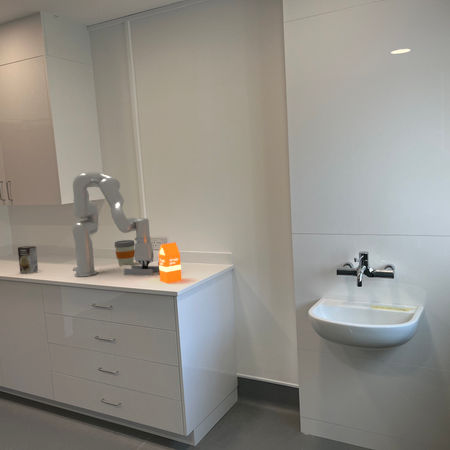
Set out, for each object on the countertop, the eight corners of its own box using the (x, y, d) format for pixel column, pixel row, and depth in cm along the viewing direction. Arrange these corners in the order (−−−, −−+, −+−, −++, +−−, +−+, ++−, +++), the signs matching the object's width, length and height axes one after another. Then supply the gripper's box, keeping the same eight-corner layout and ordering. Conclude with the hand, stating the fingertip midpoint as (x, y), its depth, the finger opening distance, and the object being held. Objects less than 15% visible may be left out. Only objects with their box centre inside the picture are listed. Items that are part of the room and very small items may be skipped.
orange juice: (181, 280, 246) (179, 243, 244) (167, 283, 241) (164, 245, 239) (174, 278, 253) (172, 241, 250) (160, 281, 248) (157, 243, 245)
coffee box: (19, 273, 289) (17, 247, 287) (27, 271, 295) (24, 245, 293) (31, 273, 285) (28, 247, 284) (38, 271, 291) (36, 245, 290)
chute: (124, 275, 265) (123, 269, 265) (132, 272, 274) (132, 265, 273) (152, 276, 259) (151, 269, 258) (160, 273, 267) (159, 266, 267)
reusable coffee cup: (139, 262, 303) (137, 239, 302) (131, 266, 291) (130, 242, 289) (120, 263, 306) (119, 240, 304) (112, 267, 293) (111, 243, 292)
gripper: (128, 241, 262) (130, 273, 264) (151, 241, 257) (153, 274, 259) (135, 239, 269) (137, 270, 271) (158, 239, 264) (160, 271, 266)
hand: (145, 272), depth 265 cm, fingers closed
